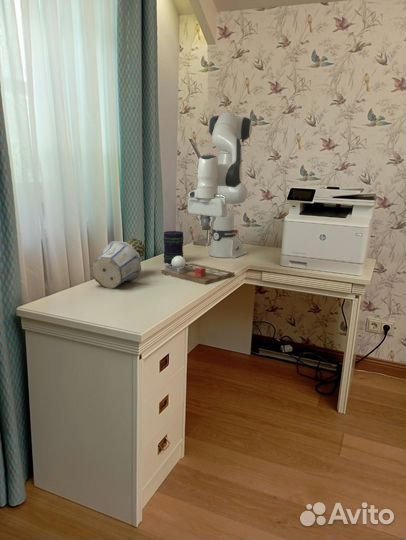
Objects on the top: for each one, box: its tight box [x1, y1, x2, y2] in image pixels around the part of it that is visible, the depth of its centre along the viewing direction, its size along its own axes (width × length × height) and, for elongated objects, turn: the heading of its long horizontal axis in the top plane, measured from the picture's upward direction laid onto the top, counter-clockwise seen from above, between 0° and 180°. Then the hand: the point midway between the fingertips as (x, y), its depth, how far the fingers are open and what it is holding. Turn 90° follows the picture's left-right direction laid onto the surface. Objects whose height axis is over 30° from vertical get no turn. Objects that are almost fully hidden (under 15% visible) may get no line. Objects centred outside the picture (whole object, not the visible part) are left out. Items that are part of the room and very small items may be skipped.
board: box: [160, 263, 235, 285], centre depth 190 cm, size 20×26×5 cm
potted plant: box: [90, 237, 146, 289], centre depth 177 cm, size 18×18×30 cm
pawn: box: [201, 215, 211, 231], centre depth 187 cm, size 4×4×8 cm
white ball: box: [171, 256, 187, 268], centre depth 190 cm, size 6×6×6 cm
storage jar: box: [163, 230, 184, 265], centre depth 213 cm, size 10×10×15 cm
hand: (206, 225), depth 187 cm, fingers closed on pawn, 4 cm apart
